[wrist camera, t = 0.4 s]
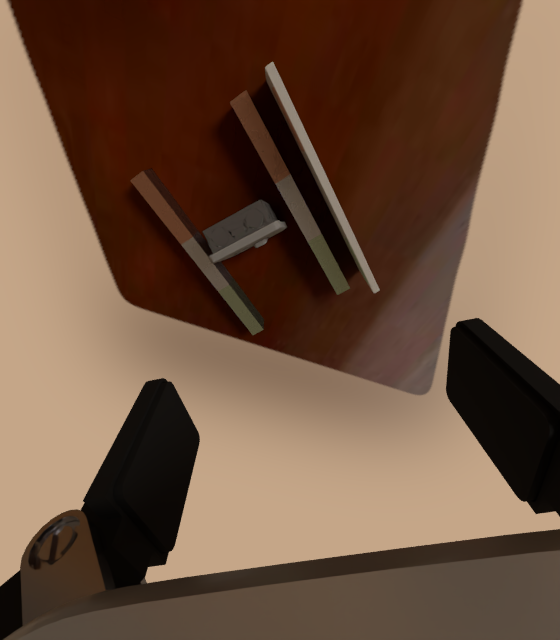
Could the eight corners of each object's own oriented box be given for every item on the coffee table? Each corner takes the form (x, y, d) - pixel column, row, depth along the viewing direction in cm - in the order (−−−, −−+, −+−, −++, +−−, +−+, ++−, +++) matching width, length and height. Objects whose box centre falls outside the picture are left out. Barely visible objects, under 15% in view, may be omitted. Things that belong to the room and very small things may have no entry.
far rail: (139, 177, 38) (130, 180, 36) (151, 168, 38) (142, 170, 35) (253, 324, 50) (252, 335, 48) (263, 319, 50) (263, 329, 47)
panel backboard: (265, 81, 33) (263, 68, 27) (272, 75, 33) (272, 61, 26) (357, 269, 45) (372, 293, 39) (363, 266, 45) (379, 290, 38)
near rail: (233, 105, 34) (229, 102, 31) (248, 94, 34) (245, 89, 31) (332, 283, 46) (337, 294, 43) (344, 276, 46) (350, 288, 43)
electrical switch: (230, 256, 44) (217, 277, 36) (211, 223, 42) (192, 237, 34) (288, 226, 42) (288, 241, 34) (270, 190, 40) (267, 196, 32)
